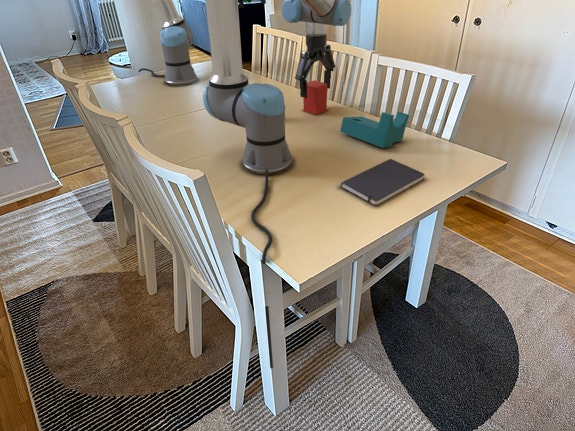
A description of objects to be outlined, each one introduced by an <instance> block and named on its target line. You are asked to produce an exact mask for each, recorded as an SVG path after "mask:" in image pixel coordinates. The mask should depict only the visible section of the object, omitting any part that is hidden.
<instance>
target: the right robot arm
mask: <svg viewBox="0 0 575 431" xmlns="http://www.w3.org/2000/svg"><path fill="white" fill-rule="evenodd" d="M204 1H205V9H206V10H205V11H206V21H207V29H208V37H209V49H210V56H211V66H212V74H211V75H210V76H209V77H208V83H207V84H206V85H205V90H204V91H203V95H202V101H203V105H204V108H205V110H206V112H207V113H208V114H209V115H210V116H211V117H212V118H214V119H217V120H218V121H220V122H225V123H228V124H232V125H234V126H238V127H240V128H243V129H245V136H246V137H245V138H246V143H245V146H244V151H243V155H242V166H243V168H244V170H246V171H247V172H249V173H252V174H254V175H255V174H256V175H262V176H265V177H264V191H263V195H262V198H261V200H260V201H259V203H258V204H257V205H256V206H255V207H254V208H253V210H252V212H251V215H250V218H251V221H252V223H253V224H254V225H255V226H256V227H257V228H259V229H260V230H261V231H263V232H264V233H265V234H266V235H267V238H268V242H267V243H266V245H265V246H264V248H263V251H262V256H261V264H262V265H265V264H266V262H267V261H266V260H267V255H268V254H267V253H268V251H269V250H270V247H271V245H272V243H273V236H272V234H271V232H270V231H269V230H268V229H267V228H266V227H265V226H263V225H262V224H260V223H259V222H258V221H257V220H256V218H255V216H256V212H257V211H258V210H259V209H260V208H261V207H262V205H263V204H264V203H265V201H266V198H267V194H268V190H269V189H268V188H269V175H277V174H280V173H283V172H286V171H287V170H289V169H290V167H291V166H292V163H293V157H292V153H291V150H290V148H289V145H288V143H287V140H286V104H285V97H284V94H283V91H282V90H281V89H280V88H279V87H277V86H275V85H273V84H269V83H260V82H255V83H249V76H248V75H247V74H246V73H245V71H243V60H242V45H241V32H240V31H241V30H240V29H241V28H240V17H239V16H240V15H239V0H204ZM281 14H282V18H283V19H284V20H285V21H286V22H287V23H289V24H294V23H295V24H297V23H299V22H303V23H305V33H306V35H305V46H306V47H307V50H306V51H304V50H301V52H300V59H299V62H298V66H297V69H296V72H295V76H294V79H295V80H297V81H299V82H298V83H299V90H300V93H299V94H300V95H299V96H300V97H301V98H307V83H308V80H307V77H308V75H309V74H310V71H311V68H313V67H312V66H313V65H315V63H316V62H319V61H320V63H321V64H322V66H323V68H324V69H325V70H323V83H326V84H327V90H331V79H332V72H334V70H335V68H336V64H335V59H334V56H333V54H332V48H331V45H330V44H328V42H327V40H328V39H327V38H328V36H327V33H328V26H333V27H337V26H338V27H344V26H346V25H347V24H348V22H349V21H350V19H351V15H352V5H351V2H350V0H283V2H282V3H281ZM264 309H265V310H264V311H265V325H266V334H267V344H268V345H267V347H268V357H269V358H268V359H269V368H270V369H273V368H274V361H273V346H272V335H271V334H272V333H271V322H270V307H269V305H266V306H264Z"/></svg>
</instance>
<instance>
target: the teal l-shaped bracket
mask: <svg viewBox="0 0 575 431" xmlns="http://www.w3.org/2000/svg"><path fill="white" fill-rule="evenodd" d="M394 117H395V118H394ZM409 118H410V114H408V113H404V112H401V111H397V113H396V116H395V115H394V114H392V113H388V112H383V111H382V112H381V115H380V118H379V121H377V120H373V119H370V118H367V117H366V116H343V117H342V122H341V126H340V130H339V132H340V133H342V134H346V135H348V136H350V137H353V138H356V139H358V140H361V141H363V142H366V143H369V144H371V145H374V146H376V147H379V148H381V149H384V148H392V147H393V144H394V143H398V142H399V143H400V142H402V141H403V137H404V134H405V131H406V128H407V124H408V121H409Z"/></svg>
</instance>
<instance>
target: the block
mask: <svg viewBox="0 0 575 431" xmlns="http://www.w3.org/2000/svg"><path fill="white" fill-rule="evenodd" d="M302 98H303V97H302ZM302 103H303V108H302V110H303V112H307V113H309V114H312V115H315V116H317V115H320V114H322V113H324V112H326V111H328V110H327V108H328V88H327V84H326V83H324V82H322V81H318V80H314V79H313V80H311V81H307V98H303V102H302Z"/></svg>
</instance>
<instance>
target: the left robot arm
mask: <svg viewBox="0 0 575 431" xmlns="http://www.w3.org/2000/svg"><path fill="white" fill-rule="evenodd" d="M151 2H152V3H153V6H154V8H155V10H156V12H157V14H158V17H159V19H160V21H161V27H160V28H161V30H160V32H159V40H160V44H161V49H162V53H163V59H164V63H165V72H164V74H154V70H153V69H150V68H140V69H139V70H138V71H137V72H138V73H141V72H143V71H146V72H150V75H151V76H153V77H156V78H164V83H165V85H167V86H170V87H171V86H172V87H183V86H189V85H192V84H195V83H196V82H197V81H198V75H197V73H196V72H195V68H194V67H193V65H192V63H191V62H192V61H191V57H190V50H189V49H191V47H192V45H193V43H194V35H193V31H192V29H191V28H190V27H189V26H188V24H187V22H186V20H185V18H184V17H183V16H180V14H179V13H178V10H177V8H176V5H175V3H174V1H173V0H151ZM260 4H262V5H266V4H267V1H266V0H260ZM238 8H241V9H245V2H244V0H238Z"/></svg>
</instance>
